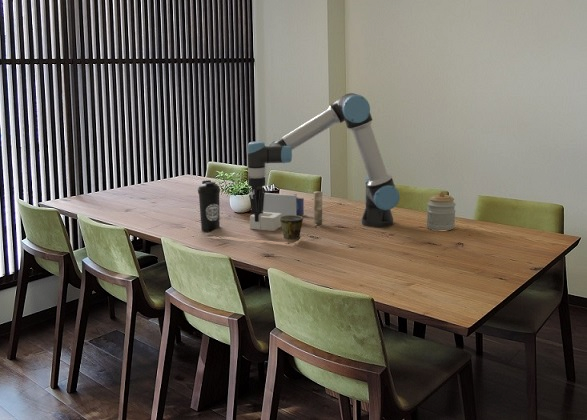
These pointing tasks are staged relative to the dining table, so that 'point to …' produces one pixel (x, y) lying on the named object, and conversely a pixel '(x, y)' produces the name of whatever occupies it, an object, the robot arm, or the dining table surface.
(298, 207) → the flask
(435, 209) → the jar
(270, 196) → the backstop wall
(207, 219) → the water bottle
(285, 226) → the ceramic cup
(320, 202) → the dowel
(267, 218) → the sliding block
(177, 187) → the dining table surface
